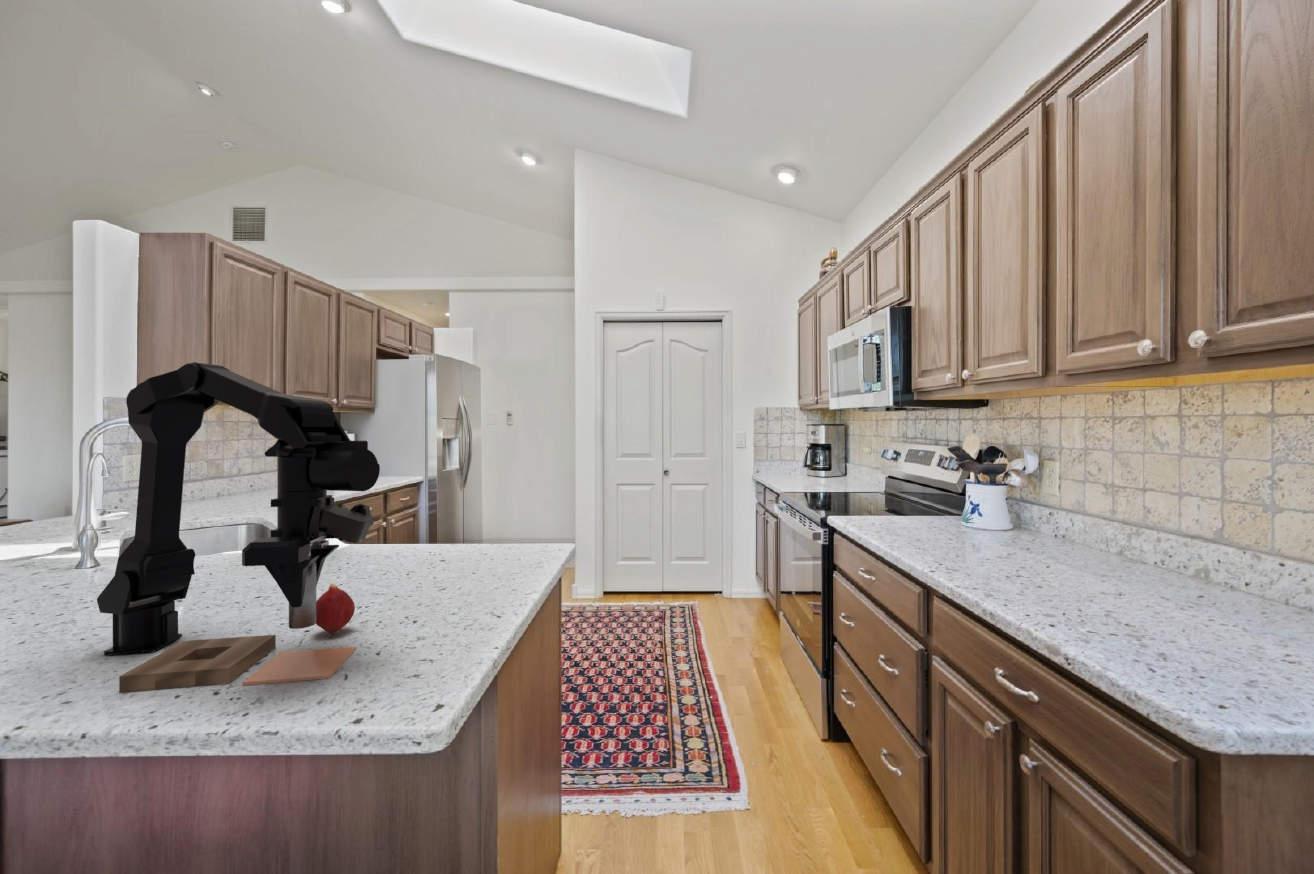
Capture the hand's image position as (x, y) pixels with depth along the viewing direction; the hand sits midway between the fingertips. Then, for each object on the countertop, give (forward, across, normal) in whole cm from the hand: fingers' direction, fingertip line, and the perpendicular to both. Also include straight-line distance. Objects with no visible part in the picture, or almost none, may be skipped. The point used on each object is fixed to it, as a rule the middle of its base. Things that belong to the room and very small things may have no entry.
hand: (302, 603), depth 75 cm
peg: (+3, 0, 0) cm, 3 cm away
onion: (+9, +13, +1) cm, 16 cm away
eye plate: (+9, +2, +13) cm, 16 cm away
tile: (+9, 0, 0) cm, 9 cm away
